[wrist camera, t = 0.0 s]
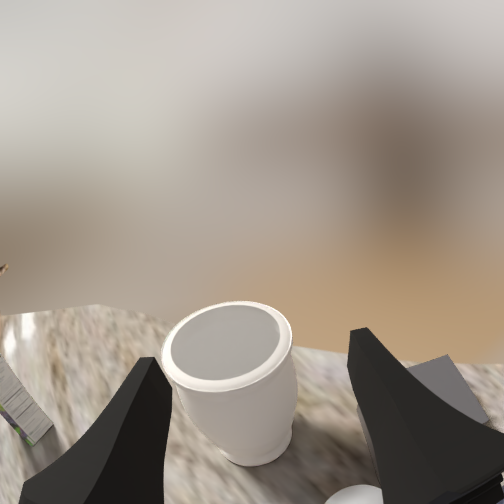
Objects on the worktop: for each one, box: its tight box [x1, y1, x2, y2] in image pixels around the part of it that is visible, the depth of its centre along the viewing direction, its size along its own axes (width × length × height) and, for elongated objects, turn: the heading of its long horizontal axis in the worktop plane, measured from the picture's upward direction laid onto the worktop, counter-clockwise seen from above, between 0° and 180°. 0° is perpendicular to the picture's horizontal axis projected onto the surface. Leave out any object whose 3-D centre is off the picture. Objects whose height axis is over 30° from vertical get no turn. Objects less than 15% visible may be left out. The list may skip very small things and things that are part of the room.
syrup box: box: [0, 353, 53, 446], centre depth 26 cm, size 6×6×14 cm
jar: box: [161, 301, 298, 466], centre depth 25 cm, size 11×10×15 cm
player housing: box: [357, 354, 489, 484], centre depth 23 cm, size 10×11×6 cm
